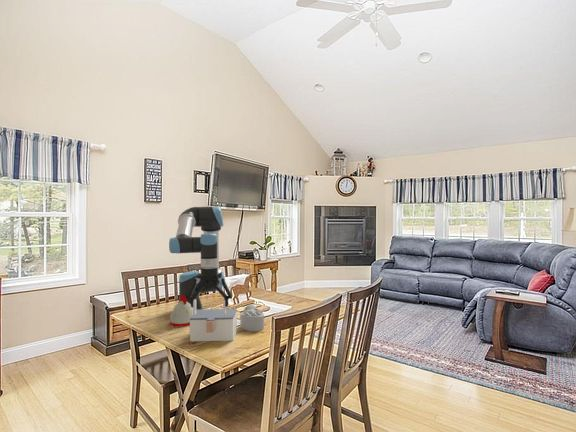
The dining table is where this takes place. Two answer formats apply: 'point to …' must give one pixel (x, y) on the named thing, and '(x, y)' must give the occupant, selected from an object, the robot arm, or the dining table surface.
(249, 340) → the dining table surface
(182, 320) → the kitchen timer
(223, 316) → the carton lid
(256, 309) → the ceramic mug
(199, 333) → the carton
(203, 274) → the robot arm
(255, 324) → the lumpy-topped squat cylinder
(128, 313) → the dining table surface
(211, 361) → the dining table surface
